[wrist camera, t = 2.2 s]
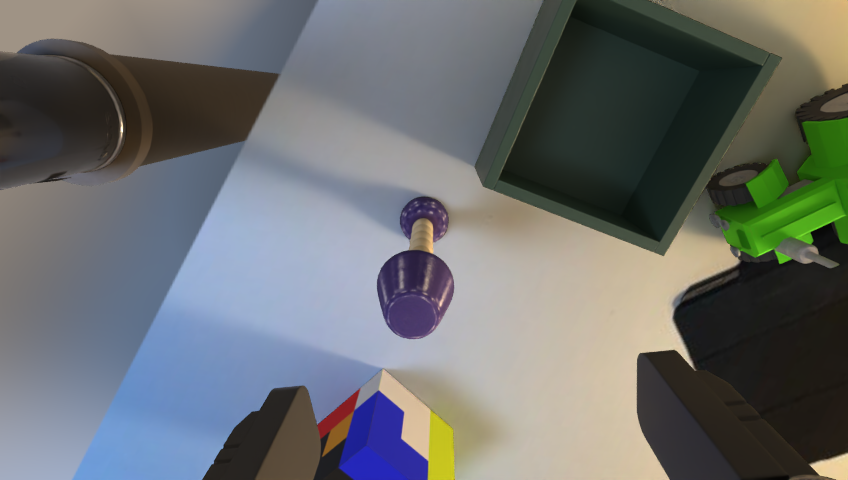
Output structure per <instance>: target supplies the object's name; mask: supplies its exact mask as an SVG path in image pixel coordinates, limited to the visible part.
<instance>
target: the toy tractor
mask: <svg viewBox="0 0 848 480" xmlns="http://www.w3.org/2000/svg"><path fill="white" fill-rule="evenodd" d="M795 116H796V119H797V122H798V125H799V128H800V131H801V135H802V138H803V140H804V142H806V143H807V144H808V145H809V147H810V151H811V155H810V156H809V157H808V158H807V159H806V161H805V162H804V163H803V165H802V166H801V167H800V169H799V170H798V171H797V174H798V177H799V180H800V182H798V183H795V184H793V185H792V186H790V187H788V185H789V183H788V181H787V179H786V176H785V174H784V172H783V170H782V168H781V166H780V164H779V162H778V160H777V159H773V160H772V161H771V163H770V164H768V165H766V164H765V163H761V164H758V163H753V164H750V165H749V164H744V165H743V166H740V167H739V166H735V167H734V168H733V169H726V170H725V172H723V173H721V172H720V173H718V174H717V176H716V177H715V176H713V177H711V180H709V182H708V183H707V185H706V187H707V190H708V192H709V195H710V197H711V200H712V202H713V203H716V205H723V206H726V207H724V208H722V209H720V210H718V211H716V212H715V214H710V215H709V219H710V221H711V223H712V224H713V225H714V226H715V227H717V228H718V227H719V226H721V229H722V231H723V234H724V236H725V238H726V241H727V243H728V244H730V246H731V247H730V250H731V252H732V254H733V255H734V256H735V257H738V259H740V260H745V261H746V262H750V261H754V262H759V261H764V262H766V261H770V260H772V259H775V260H776V259H778V260H779V262H778V263H780V264H781V263H784V262H786V261H788V260H791V259H794V260H796V261H799V262H801V263H810V262H813V261H814V262H817V263H819V264H821V265H824V266H826V267H828V268H833V267H835V266H838V265H840V264H838V263H836V262H834V261H831V260H829V259H827V258H825V257H823V256H820V255H818V250H817V248H816V247H815V246H813V245H811V243H812V242H813V239H812V236H811V233H810V232H811V231H814V230H816V229H818V228H820V227H822V226H824V225H827V224H829V223H831V224H832V227H833V230H834V233H835V235H836V234H837V236H838V238H839V239H840V242H842V243H845V244H848V84H845V85H842V88H839V89H837V90H835V89H831V90H829V91H826V92H825V95H822V96H815V97H814V98H812V99H811V102H810V103H804V104H802V105H801V109H797V110H796V114H795ZM787 187H788V188H787ZM727 205H728V206H727Z"/></svg>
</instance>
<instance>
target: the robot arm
mask: <svg viewBox="0 0 848 480" xmlns="http://www.w3.org/2000/svg"><path fill="white" fill-rule="evenodd" d="M126 133H127V123H126V116H125V112H124V109H123V106H122V103H121V101H120V99H119V97H118V95H117V93H116V92H115V90H114V89H113V87H112V86H111V85H110V83H109V82H108V81H107V80H106V79H105V78H104V77H103V76H102V75H101V74H100V73H99V72H98V71H96V70H95V69H94V68H92V67H91V66H89V65H87V64H86V63H84V62H82V61H79V60H77V59H74V58H70V57H66V56H57V55H44V56H42V55H31V54H22V53H11V52H0V190H3V189H8V188H12V187H17V186H21V185H25V184H32V183H41V182H50V181H58V180H63V179H67V178H60V179H53V178H58V177H63V176H67V175H72V174H76V173H86V172H91V171H96V170H99V169H102V168H104V167H106V166H108V165H109V164H111V163H112V162H113V161H114V160H115V159H116V158H117V157H118V156H119V154H120V152H121V151H122V149H123V146H124V143H125V140H126ZM69 178H72V177H69ZM49 179H51V180H49ZM637 414H638V419H639V423H640V427H641V429H642V432H643V434H644V436H645V438H646V440H647V442H648V443H649V445H650V447H651V448H652V450H653V452H654V453H655V455H656V457H657V459H658V460H659V462H660V464H661V465H662V467H663V469H664V470H665V472H666V474H667V476H668V477H669V479H670V480H835V479H832V478H828V477H823V476H820V475H819V474H818V473H817V472H816V471H815V470H814V469H813V468H812V467H811V466H810V465H809V464H808V463H807V462H806V461H805V460H804V459H803V458H802V457H801V456H800V455H799V454H798V453H797V452H796V451H795V450H794V449H793V448H792V447H791V446H790V445H789V444H788V443H787V442H786V441H785V440H784V439H783V438H782V437H781V436H780V435H779V434H778V433H777V432H776V431H775V430H774V429H773V428H772V427H771V426H770V425H769V424H768V423H767V422H766V421H765V420H764V419H761V417H760V415H759V414H758V412H757V411H756V410H755V409H754V408H753V407H752V406H751V405H750V404H747V403H746V400H745V399H744V398H743V397H742V396H741V395H740V394H739V393H738V392H737V391H736V390H735V389H734V388H733V387H732V386H731V385H730V384H729V383H727V382H725V381H724V380H722V379H720V378H718V377H717V376H715V375H713V374H711V373H710V372H708V371H706V370H699V371H695V370H694V369H693V368H692V367H691V366H690V365H689V364H688V363H687V362H686V361H685V359H684V358H683V357H682V356H681V355H680V354H679V353H678V352H677V351H675V350H668V351H658V352H648V353H640V354H639V355H638V359H637ZM223 446H224V448H223V449H221V450H220V452H219V454H218V455H217V457H216V458H215V460H214V464H212V465H211V466H210V468H209V470H208V471H207V473H206V474H205V476H204V478H203V479H202V480H313V479H314V476H315V473H316V470H317V467H318V464H319V460H320V453H321V441H320V434H319V430H318V427H317V423H316V419H315V415H314V412H313V408H312V404H311V400H310V396H309V393H308V390H307V388H306V387H305V386H294V387H284V388H274V389H273V390H271V392H270V393H269V395H268V397H267V399H266V400H265V402H264V404H263V406H262V407H261V409H260V411H255V412H251V413H250V414H249V415H248V416H247V417H246V418H245V419H244V420H242V421H241V422H240V423H239V424H238V425H237V426H236V427H235V428H234V429H233V431H232V433H231V434H230V436H229V437H228V439H227V441H226V442H225V444H224V445H223Z"/></svg>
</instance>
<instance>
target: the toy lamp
mask: <svg viewBox="0 0 848 480" xmlns="http://www.w3.org/2000/svg"><path fill="white" fill-rule="evenodd" d="M400 225H401V228H402V231H403V233H404V234H405V236H406V237H407V238H408V239H410V247H409V250H408V251H403V252H401V253H398V254H396V255H394V256H393V257H391V258H390V259H389V260H388V261H387V262H386V263H385V264H384V265H383V267H382V268H381V270H380V273H379V275H378V279H377V292H378V297H379V301H380V305H381V309H382V312H383V316H384V319H385V322H386V324H387V325H388V327H389V328H390V329H391V330H392V331H393V332H394V333H395V334H396V335H398V336H400V337H403V338H407V339H419V338H423V337H425V336H427V335H429V334H430V333H431V332H433V331H434V330H435V329H436V327H437V326H438V325H439V323H440V321H441V319H442V317H443V316H444V314H445V312H446V310H447V308H448V306H449V304H450V302H451V300H452V297H453V293H454V281H453V276H452V274H451V271H450V269H449V267H448V266H447V265H446V263H445V262H444V261H443V260H441V259H440V258H439V257H437V256H436V255H434V254H433V243H434V242H436V241H437V240H439V239H440V238H441V237H442V236H443V235H444V234H445V232H446V230H447V227H448V214H447V211H446V209H445V208H444V206H443V205H442V204H441V203H440V202H439V201H437V200H435V199H432V198H429V197H420V198H416V199H413V200H411V201H410V202H409V203H408V204H407V205H406V206H405V207H404V208H403V210H402V213H401V216H400Z"/></svg>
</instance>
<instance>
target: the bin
mask: <svg viewBox="0 0 848 480" xmlns="http://www.w3.org/2000/svg"><path fill="white" fill-rule="evenodd" d="M781 59H782V58H781V57H779V56H777V55H774V54H772V53H769V52H767V51H764V50H762V49H760V48H758V47H755V46H753V45H751V44H748V43H746V42H744V41H741V40H739V39H737V38H734V37H732V36H730V35H728V34H725V33H723V32H721V31H718V30H716V29H714V28H711V27H709V26H707V25H705V24H702V23H700V22H698V21H695V20H693V19H691V18H688V17H686V16H684V15H681V14H679V13H677V12H675V11H672V10H670V9H668V8H665V7H663V6H661V5H658V4H656V3H654V2H651V1H649V0H544V1H543V4H542V6H541V8H540V11H539V13H538V16H537V18H536V20H535V23H534V25H533V28H532V30H531V32H530V35H529V37H528V40H527V42H526V44H525V47H524V49H523V52H522V54H521V56H520V59H519V61H518V64H517V66H516V68H515V71H514V73H513V76H512V78H511V80H510V83H509V85H508V88H507V90H506V92H505V95H504V97H503V100H502V102H501V105H500V107H499V109H498V112H497V114H496V117H495V119H494V121H493V124H492V126H491V129H490V131H489V133H488V136H487V138H486V141H485V143H484V145H483V148H482V150H481V153H480V155H479V157H478V160H477V162H476V165H475V169H476V171H477V174H478V176H479V178H480V181H481V183H482V185H483V187H486V188H489V189H491V190H494V191H496V192H499V193H501V194H504V195H507V196H509V197H512V198H514V199H517V200H520V201H522V202H525V203H527V204H530V205H533V206H535V207H538V208H540V209H543V210H546V211H548V212H551V213H553V214H556V215H558V216H561V217H564V218H566V219H569V220H571V221H574V222H577V223H579V224H582V225H584V226H587V227H590V228H592V229H595V230H597V231H600V232H603V233H605V234H608V235H610V236H613V237H616V238H618V239H621V240H623V241H626V242H629V243H631V244H634V245H636V246H639V247H641V248H644V249H647V250H649V251H652V252H654V253H657V254H660V255H662V256H664V255H665V254H666V252H667V250H668V249H669V247H670V245H671V244H672V242H673V240H674V238H675V237H676V235H677V233H678V232H679V230H680V228H681V227H682V225H683V223H684V222H685V220H686V218H687V217H688V215H689V213H690V212H691V210H692V208H693V207H694V205H695V203H696V202H697V200H698V198H699V197H700V195H701V193H702V192H703V190H704V188H705V187H706V185H707V183H708V182H709V180H710V178H711V177H712V175H713V173H714V171H715V170H716V168H717V166H718V165H719V163H720V161H721V160H722V158H723V156H724V155H725V153H726V151H727V150H728V148H729V146H730V145H731V143H732V141H733V140H734V138H735V136H736V135H737V133H738V131H739V130H740V128H741V126H742V125H743V123H744V121H745V120H746V118H747V116H748V115H749V113H750V111H751V109H752V108H753V106H754V104H755V103H756V101H757V99H758V98H759V96H760V94H761V93H762V91H763V89H764V88H765V86H766V84H767V83H768V81H769V79H770V78H771V76H772V74H773V73H774V71H775V69H776V68H777V66H778V64H779V63H780V61H781Z"/></svg>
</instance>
